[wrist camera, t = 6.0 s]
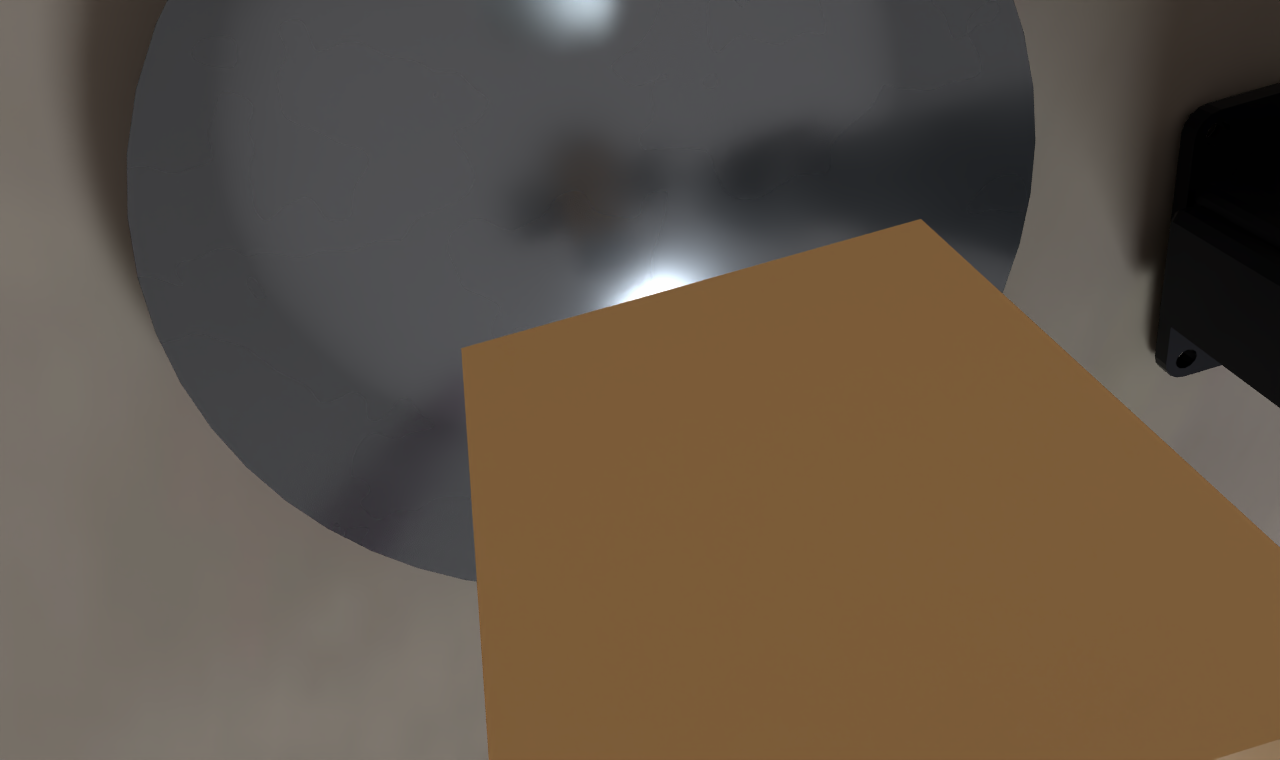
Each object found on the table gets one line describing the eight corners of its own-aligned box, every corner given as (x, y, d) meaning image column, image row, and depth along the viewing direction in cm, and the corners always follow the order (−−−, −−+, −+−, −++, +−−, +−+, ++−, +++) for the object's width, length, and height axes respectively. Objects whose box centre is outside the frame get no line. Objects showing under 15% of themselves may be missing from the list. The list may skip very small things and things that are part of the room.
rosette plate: (1006, -395, 14) (1142, -430, 12) (999, 437, 23) (1074, 523, 21) (-73, -122, 13) (-190, -93, 11) (352, 630, 22) (345, 747, 20)
